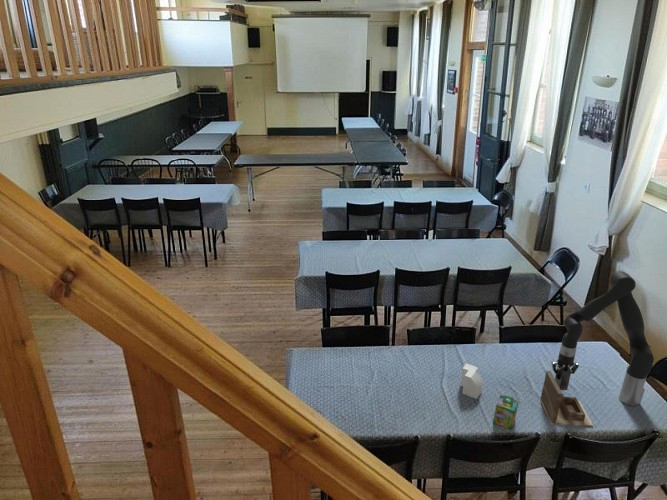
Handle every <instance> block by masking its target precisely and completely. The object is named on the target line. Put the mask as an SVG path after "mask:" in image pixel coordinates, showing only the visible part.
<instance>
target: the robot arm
mask: <svg viewBox="0 0 667 500" xmlns="http://www.w3.org/2000/svg"><path fill="white" fill-rule="evenodd" d="M609 283H610V285H611V288H610V289H608V291H607V292H605V293H604V294H602V295H600V296H598V297H596V298H594V299H592V300H590V301H589V302H587V303H586V304H585V305H584V306H582V307H581V308H580V309H579V310H577V311H574V312H573V313H571V314H569V315H567V316H566V318H564V321H563V325H564V327H565V328H566V330H567V332H566V333H564V334H563V337H562V341H561V345H560V347H559V352H558V356H557V357H558V358H557V360H556V361H551V366H552V367H551V368H552V371H553V372H554V374H555V375H556V378H557V380H559V377H560V373H561V369H563V368H568V369H570V371H571V374H573V375H574V374H575V373H576V372H577V370H578V368H579V364H578V362H575V357H576V354H577V345H578V341H579V339H580V337H581V336H582V335H583V330H584V328H583V324H581V322H583V321H585V322H590V321H592V320H593V319H594V318H596V317H597V316H598V314H600V313H601V312H602V311H604V310H605V309H606V308H608V307H609V306H611V305H612V304H614V303H615V302H617V308H618V313H619V315H620V316H619V317H620V319H621V323H622V327H623V329H624V331H625V333H626V334H627V336H628V342H629V350H630V355H631V362H630V364H629V365H627V368H626V371H625V375H624V377H623V380H622V381H623V382H622V384H621V389H620V392H619V394H618V399H619V401H621V402H622V403H623V404H625V405H627V406H630V407H631V406H632V407H635V406H638V405H641V403H642V400H643V397H644V394H645V388H644V387H645V384H646V381H647V377H648V375H649V374H651V370H652V368H653V364H654V362H655V361H654V360H655V357H654V355H653V352H652V349H651V347H650V346H649V343H648V340H647V338H646V335H645V322H644V319H643V314H642V311H641V309H640V307H639V305H638V303H637V301H636V299H635V298H634V296H633V291H634V290H635V289H636V284H637V283H636V281H635V279H634V278H633V277H632V276H630V275H629V274H628V273H627V272H625V271H621V270H616V271H615V272H613V273H612V274H611V275H610V277H609ZM557 365H558V368H557Z"/></svg>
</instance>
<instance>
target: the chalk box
mask: <svg viewBox="0 0 667 500" xmlns="http://www.w3.org/2000/svg"><path fill="white" fill-rule="evenodd" d="M518 407H519V401H518V400H516V399H515V398H514V397H512V396H508V395H500V396H499V398H498V400H497V403H496V405H495V410H494V415H493V420H492V424H495V425H498V426H500V427H503V428H505V429H508V430H510V429H511V430H512V429H513V427H514V423H515V420H516V416H517V413H518Z"/></svg>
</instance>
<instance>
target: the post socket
mask: <svg viewBox="0 0 667 500" xmlns="http://www.w3.org/2000/svg"><path fill="white" fill-rule="evenodd" d="M543 381H544V382H543V385H542V386H543V387H542V391H541V396H540V403H541V404H542V406H543V409H544V411H545V413H546V415H547V418H548V420H549V422H550V425H559V426H578V427H589V426H593V427H594V424H593V422H592V421H591V418H590V417H589V416H588V413H587V411H586V409H585V408H584V406H583V404H582V402H581V401H580V400H579V399H577V397H576V396H574V397H573V396H563V392H562V390H560V388H559V386H558V384H557V382H556V380H555V376H554V375H553V373H552V370H546V372H545V377H544V380H543Z"/></svg>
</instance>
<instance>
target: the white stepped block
mask: <svg viewBox="0 0 667 500" xmlns="http://www.w3.org/2000/svg"><path fill="white" fill-rule="evenodd" d="M478 369H479V368H478V367H477V366H474V365H472V364H469V363H466V364H464V366H463V367H462V371H461V372H462V373H461V378H460V379H461V380H460V387H462V386H463V387H462V394H463V395H465V394H466V395H465V396H468V397H471V398H473V399H475V400H478V399H479V397H478V396H480V395H481V394H482V391H483V385H484V384H483V383H484V380H483V378H482V377H481V376H480V375H479V373H478Z"/></svg>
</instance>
